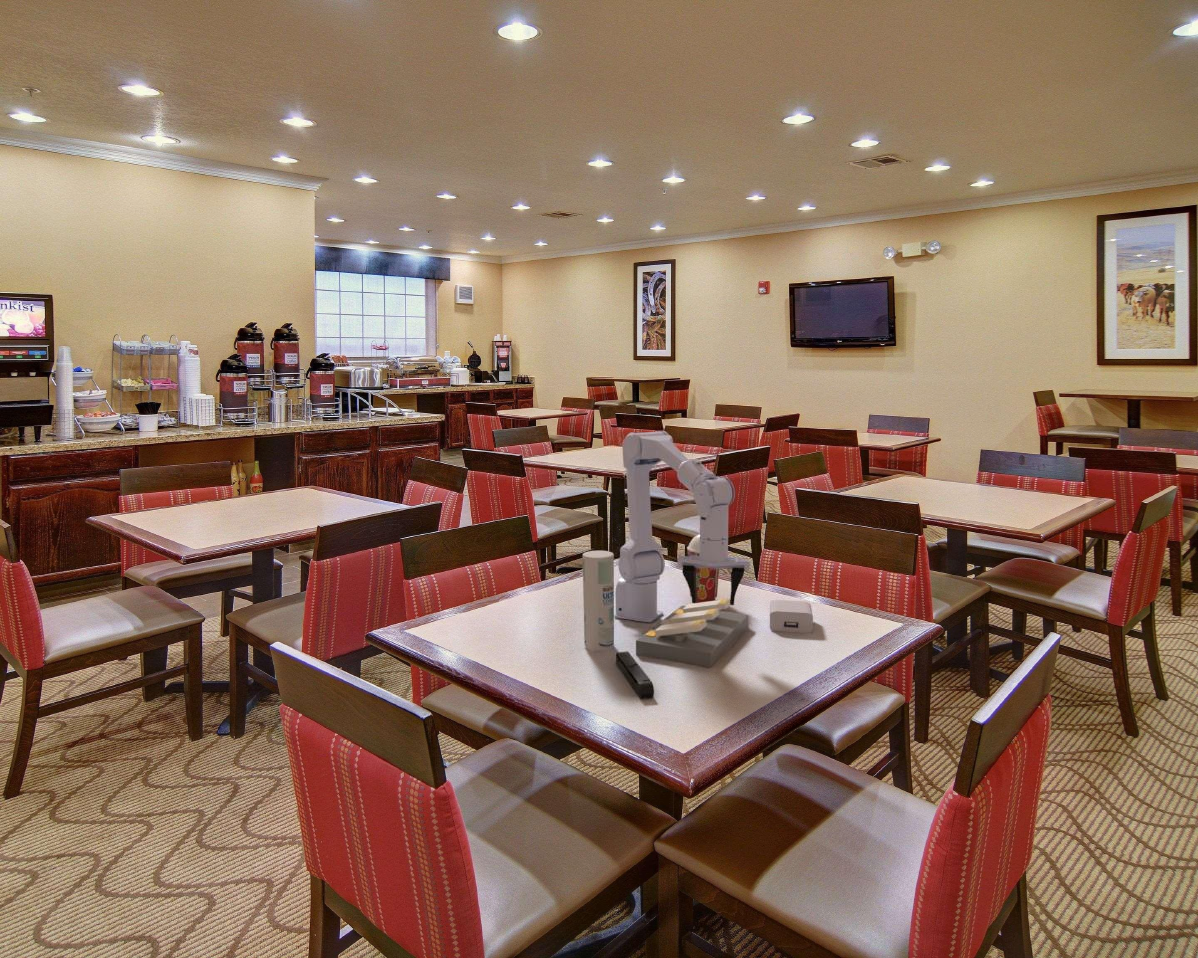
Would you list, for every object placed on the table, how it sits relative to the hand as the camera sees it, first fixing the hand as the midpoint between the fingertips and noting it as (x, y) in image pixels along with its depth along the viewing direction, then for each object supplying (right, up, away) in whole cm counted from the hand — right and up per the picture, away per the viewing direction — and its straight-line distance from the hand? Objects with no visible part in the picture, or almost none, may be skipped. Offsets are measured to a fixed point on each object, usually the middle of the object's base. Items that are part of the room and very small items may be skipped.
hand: (713, 602), depth 155 cm
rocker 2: (-3, -5, +7) cm, 9 cm away
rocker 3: (+1, -4, +14) cm, 15 cm away
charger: (+21, -8, +20) cm, 30 cm away
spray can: (-23, -10, +5) cm, 26 cm away
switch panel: (-3, -9, +8) cm, 13 cm away
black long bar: (-17, -13, -13) cm, 25 cm away
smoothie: (+3, -6, +36) cm, 37 cm away
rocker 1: (-7, -6, 0) cm, 9 cm away
